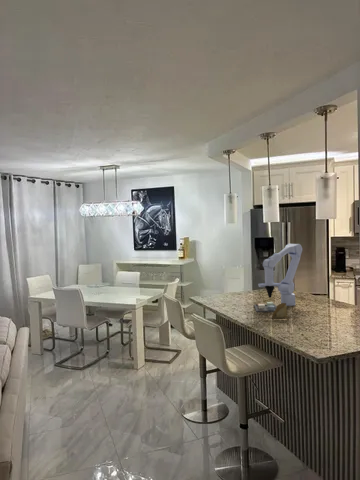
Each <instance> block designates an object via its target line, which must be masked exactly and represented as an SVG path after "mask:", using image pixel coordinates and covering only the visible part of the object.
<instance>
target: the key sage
mask: <svg viewBox="0 0 360 480" xmlns="http://www.w3.org/2000/svg"><path fill="white" fill-rule="evenodd" d="M273 304H274V302H273V301H266V305H267V306H274V305H273Z"/></svg>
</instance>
